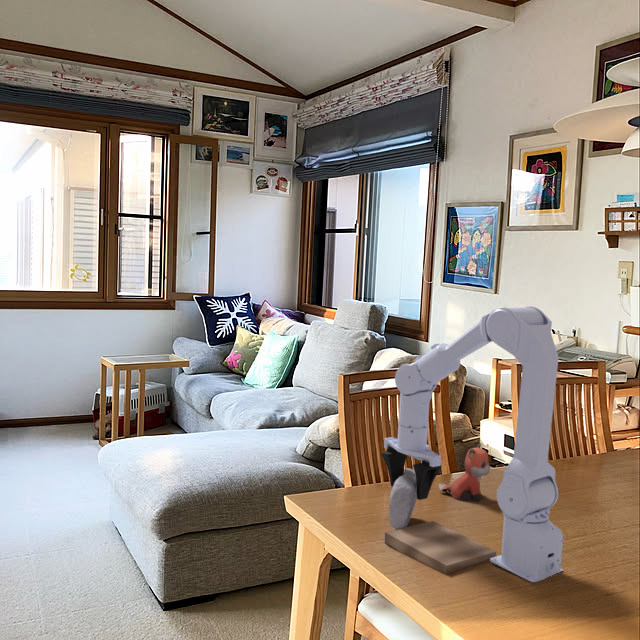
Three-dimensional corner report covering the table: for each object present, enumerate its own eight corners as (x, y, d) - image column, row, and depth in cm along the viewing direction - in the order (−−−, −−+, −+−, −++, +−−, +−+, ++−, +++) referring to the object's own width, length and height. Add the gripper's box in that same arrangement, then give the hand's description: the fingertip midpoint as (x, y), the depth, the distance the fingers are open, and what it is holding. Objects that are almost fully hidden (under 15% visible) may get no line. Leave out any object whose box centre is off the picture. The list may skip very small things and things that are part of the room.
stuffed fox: (440, 488, 164) (443, 437, 163) (489, 495, 160) (493, 443, 159) (433, 498, 157) (436, 444, 156) (485, 506, 153) (488, 451, 152)
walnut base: (495, 562, 125) (496, 551, 125) (445, 577, 118) (446, 565, 118) (432, 531, 138) (433, 521, 138) (384, 542, 131) (385, 532, 131)
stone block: (412, 536, 134) (413, 484, 134) (387, 533, 136) (388, 482, 135) (424, 515, 146) (425, 467, 145) (401, 513, 147) (401, 465, 146)
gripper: (454, 431, 135) (449, 500, 137) (404, 414, 147) (400, 478, 149) (426, 435, 131) (422, 506, 133) (377, 417, 143) (373, 483, 145)
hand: (408, 492), depth 141 cm, fingers open, 7 cm apart
